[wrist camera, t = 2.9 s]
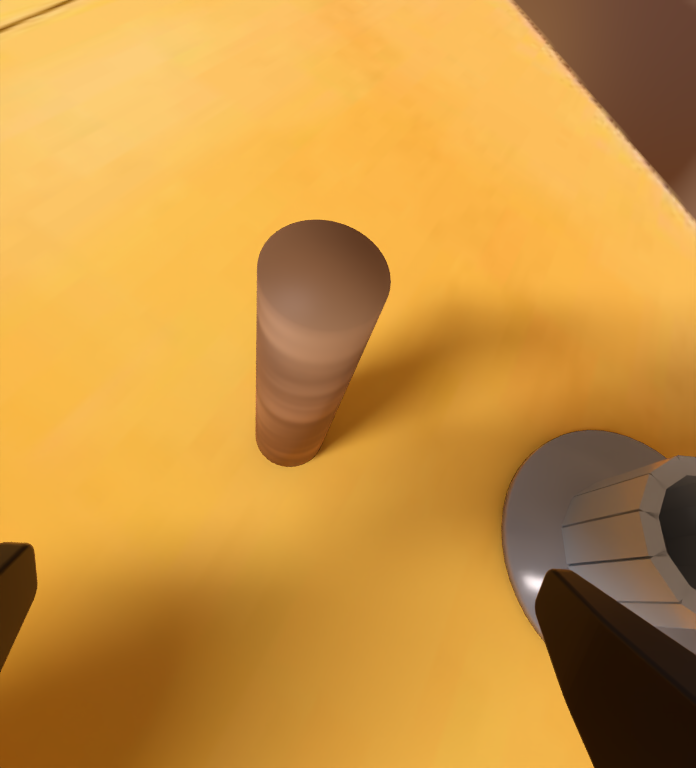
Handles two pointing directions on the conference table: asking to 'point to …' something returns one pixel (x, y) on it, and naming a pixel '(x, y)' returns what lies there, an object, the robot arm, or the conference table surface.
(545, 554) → the grey flared collar base
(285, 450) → the brown wooden dowel
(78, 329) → the conference table surface
